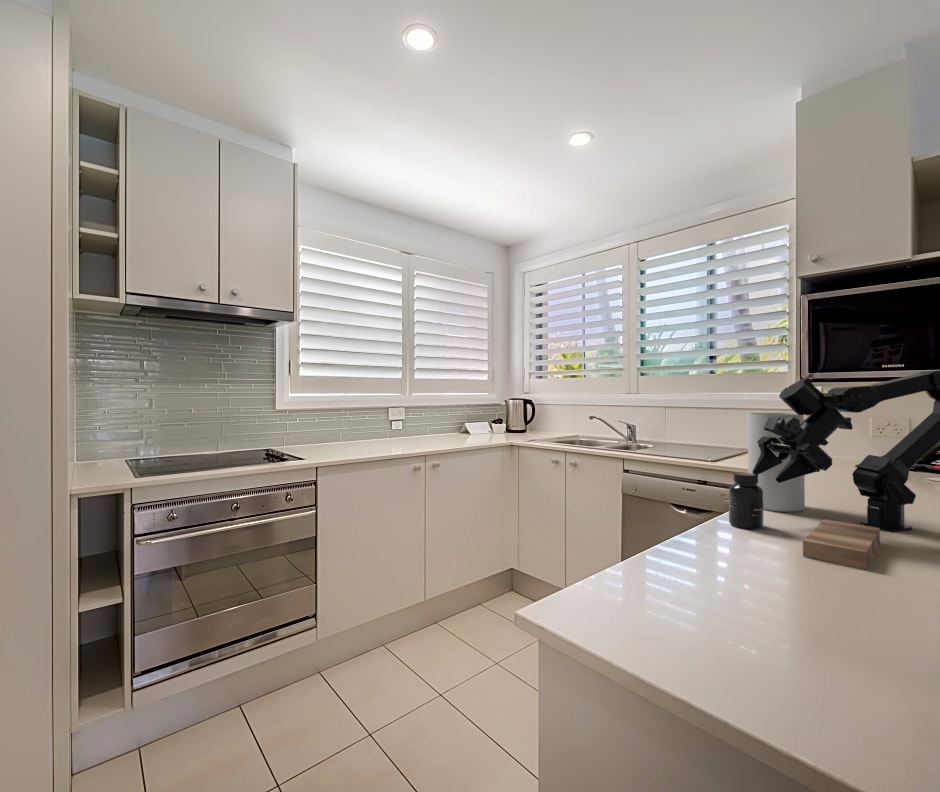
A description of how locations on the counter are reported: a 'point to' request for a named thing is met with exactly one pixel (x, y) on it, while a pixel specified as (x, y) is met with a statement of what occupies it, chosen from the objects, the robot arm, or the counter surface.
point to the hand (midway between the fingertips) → (764, 477)
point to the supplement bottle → (746, 502)
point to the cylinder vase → (774, 468)
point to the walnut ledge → (842, 543)
